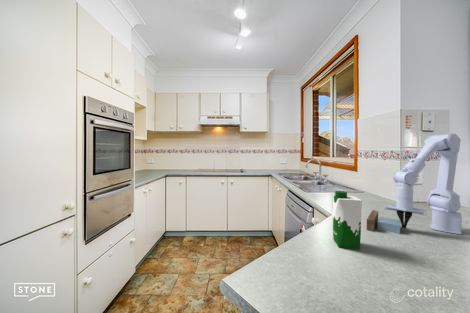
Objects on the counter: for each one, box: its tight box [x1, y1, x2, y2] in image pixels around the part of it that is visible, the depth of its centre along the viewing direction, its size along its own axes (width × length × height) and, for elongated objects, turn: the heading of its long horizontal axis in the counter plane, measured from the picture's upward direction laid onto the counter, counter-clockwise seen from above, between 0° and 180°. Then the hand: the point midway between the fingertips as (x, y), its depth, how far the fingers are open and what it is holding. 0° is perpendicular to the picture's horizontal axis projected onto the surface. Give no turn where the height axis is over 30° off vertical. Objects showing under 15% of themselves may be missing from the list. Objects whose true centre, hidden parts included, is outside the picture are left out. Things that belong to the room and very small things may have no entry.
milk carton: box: [332, 190, 363, 251], centre depth 77 cm, size 9×9×20 cm
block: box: [376, 216, 402, 235], centre depth 95 cm, size 8×10×4 cm
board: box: [366, 209, 379, 232], centre depth 99 cm, size 2×20×5 cm, turn 140°
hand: (403, 228), depth 91 cm, fingers closed
